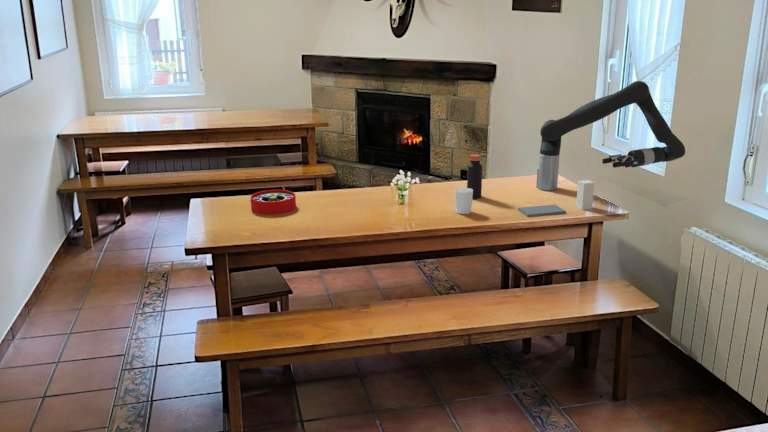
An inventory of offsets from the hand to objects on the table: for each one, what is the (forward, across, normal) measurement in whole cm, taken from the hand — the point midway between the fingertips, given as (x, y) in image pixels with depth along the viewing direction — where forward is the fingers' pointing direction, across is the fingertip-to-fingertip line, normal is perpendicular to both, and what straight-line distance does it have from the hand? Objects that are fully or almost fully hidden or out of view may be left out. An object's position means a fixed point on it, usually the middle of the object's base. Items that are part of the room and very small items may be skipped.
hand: (607, 163), depth 303 cm
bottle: (+53, -29, +14) cm, 62 cm away
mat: (+32, 0, +16) cm, 36 cm away
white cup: (+65, -8, +13) cm, 67 cm away
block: (+12, 0, +18) cm, 22 cm away
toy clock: (+145, -37, +5) cm, 150 cm away
